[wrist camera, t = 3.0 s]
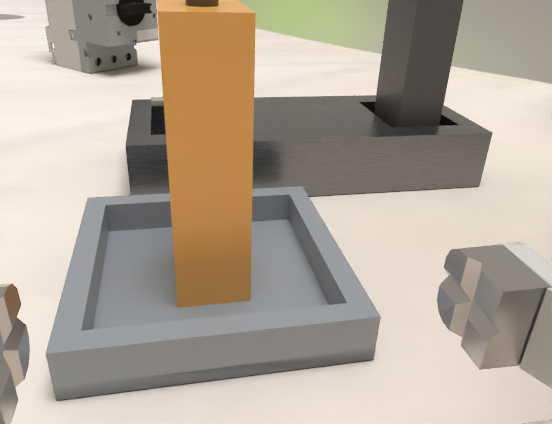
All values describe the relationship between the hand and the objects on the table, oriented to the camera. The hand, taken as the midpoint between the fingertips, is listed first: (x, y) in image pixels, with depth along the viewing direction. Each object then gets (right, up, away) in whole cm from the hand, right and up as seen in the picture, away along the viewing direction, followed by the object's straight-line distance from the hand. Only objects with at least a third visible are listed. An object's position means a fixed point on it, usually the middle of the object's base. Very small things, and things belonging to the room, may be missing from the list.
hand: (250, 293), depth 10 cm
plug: (-3, -2, +14) cm, 15 cm away
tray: (-3, -2, +15) cm, 15 cm away
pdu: (+2, +5, +28) cm, 29 cm away
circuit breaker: (-21, +20, +56) cm, 63 cm away
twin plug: (+10, +7, +29) cm, 32 cm away
